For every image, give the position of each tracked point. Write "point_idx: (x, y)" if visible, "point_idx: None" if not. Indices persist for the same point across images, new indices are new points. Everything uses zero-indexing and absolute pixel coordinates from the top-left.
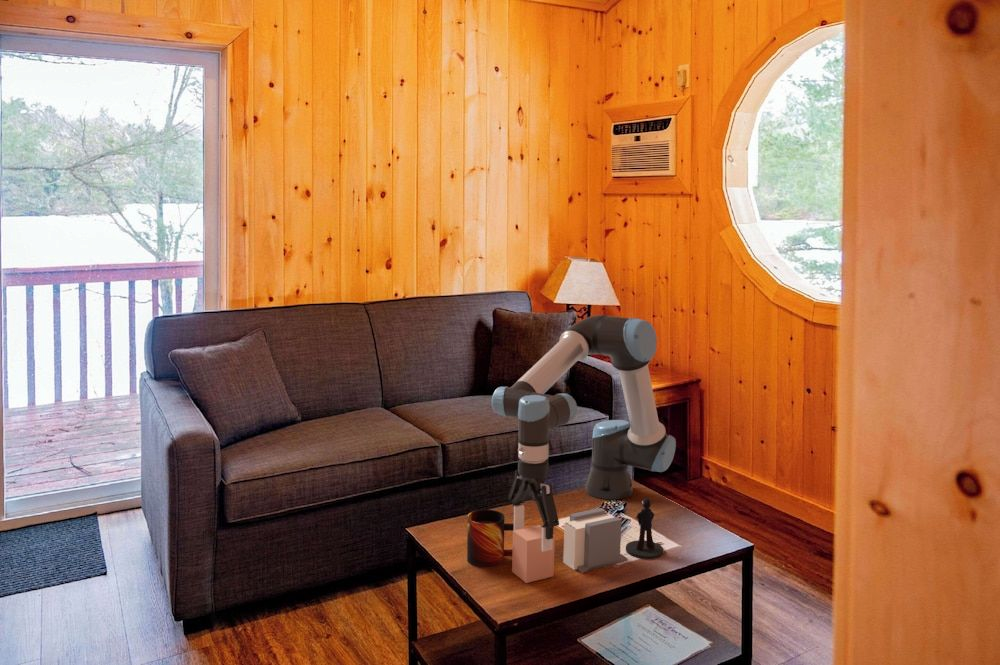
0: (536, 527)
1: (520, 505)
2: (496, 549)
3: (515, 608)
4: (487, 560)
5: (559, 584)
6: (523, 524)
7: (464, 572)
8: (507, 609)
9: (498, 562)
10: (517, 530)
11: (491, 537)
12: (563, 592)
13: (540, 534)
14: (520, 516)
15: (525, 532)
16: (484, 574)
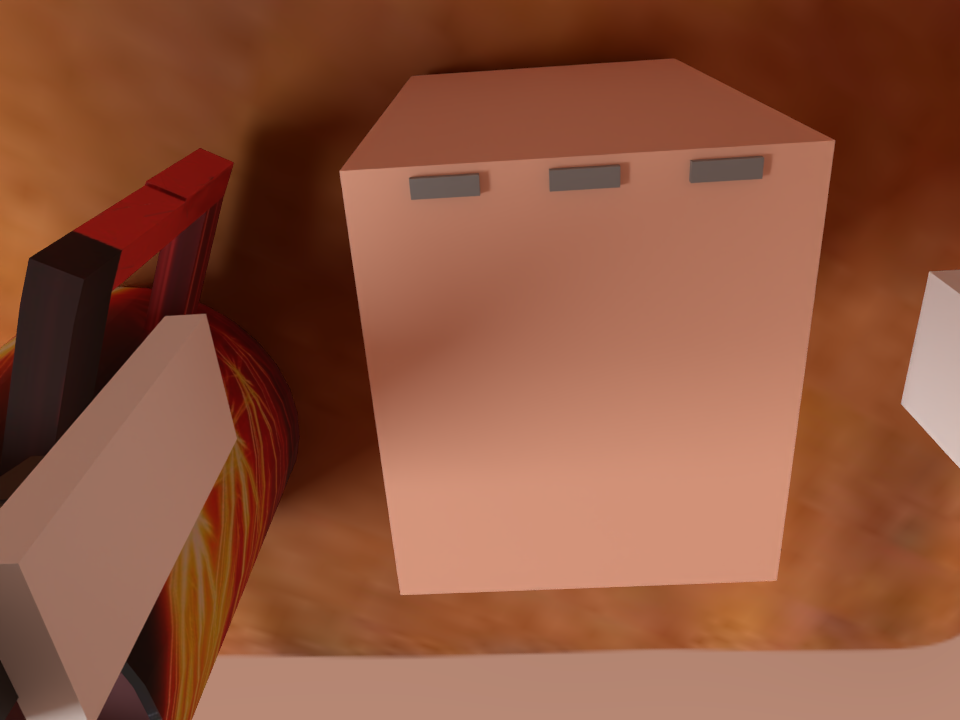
0: (423, 277)
1: (25, 630)
2: (254, 480)
3: (911, 529)
4: (280, 494)
5: (813, 75)
6: (187, 357)
7: (313, 600)
8: (890, 570)
9: (276, 390)
10: (418, 548)
11: (226, 615)
12: (951, 120)
13: (691, 343)
14: (143, 483)
15: (527, 493)
16: (387, 511)
